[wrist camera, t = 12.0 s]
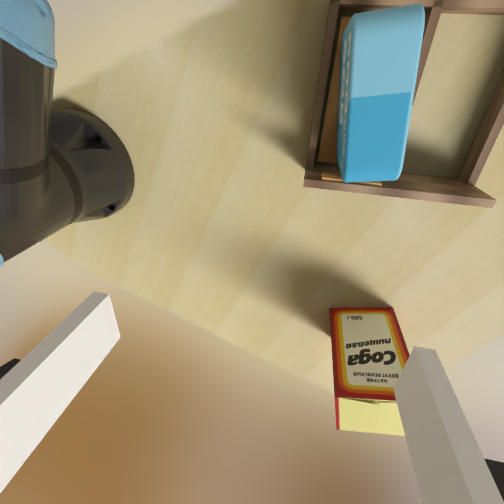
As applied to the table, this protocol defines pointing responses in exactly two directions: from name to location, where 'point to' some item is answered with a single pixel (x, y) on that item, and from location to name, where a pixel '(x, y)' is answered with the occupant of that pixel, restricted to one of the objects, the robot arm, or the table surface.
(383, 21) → the blue rounded block
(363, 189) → the rack
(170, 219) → the table surface
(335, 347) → the baking soda box
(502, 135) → the table surface
